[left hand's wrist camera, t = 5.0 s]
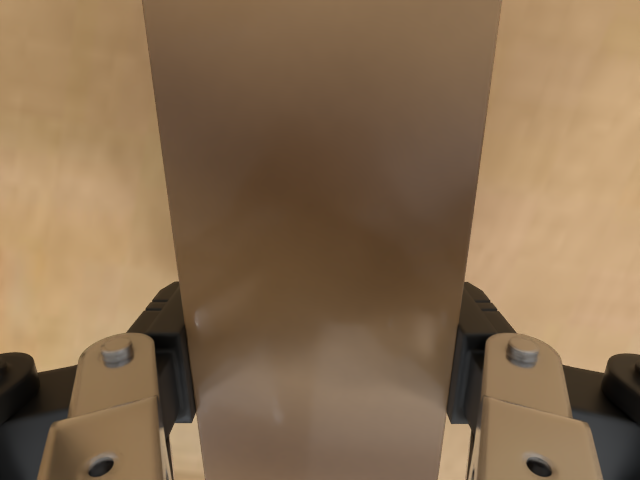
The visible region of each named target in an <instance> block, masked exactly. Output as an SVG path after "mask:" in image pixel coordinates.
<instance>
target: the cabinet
mask: <svg viewBox="0 0 640 480" xmlns="http://www.w3.org/2000/svg"><path fill="white" fill-rule="evenodd" d="M501 3H502V0H142V4H143V11H144V19H145V27H146V34H147V42H148V49H149V57H150V64H151V72H152V80H153V87H154V95H155V102H156V110H157V118H158V125H159V133H160V140H161V148H162V156H163V163H164V171H165V178H166V186H167V194H168V201H169V209H170V216H171V224H172V231H173V239H174V247H175V254H176V262H177V269H178V277H179V285H180V292H181V300H182V307H183V315H184V323H185V330H186V337H187V345H188V353H189V360H190V368H191V375H192V383H193V391H194V398H195V406H196V414H197V421H198V429H199V436H200V444H201V452H202V459H203V467H204V474H205V480H438V473H439V466H440V458H441V451H442V444H443V436H444V429H445V421H446V414H447V412H446V411H447V403H448V396H449V388H450V381H451V373H452V366H453V358H454V351H455V343H456V336H457V329H458V324H459V317H460V309H461V302H462V294H463V287H464V279H465V272H466V264H467V257H468V249H469V242H470V234H471V227H472V219H473V212H474V205H475V197H476V190H477V182H478V175H479V167H480V160H481V152H482V145H483V137H484V130H485V122H486V115H487V107H488V100H489V92H490V85H491V78H492V70H493V63H494V55H495V48H496V40H497V33H498V25H499V18H500V10H501Z"/></svg>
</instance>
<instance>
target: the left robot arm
mask: <svg viewBox="0 0 640 480" xmlns="http://www.w3.org/2000/svg"><path fill="white" fill-rule="evenodd" d="M446 412H447V415H448V417H449V420H450V422H451V424H469V426H470V428H471V436H470V442H469V449H468V459H467V468H466V477H465V480H640V355H638V354H617V355H614V356H612V357H611V358H609V360H608V363H607V366H606V370H605V373H600V372H595V371H590V370H585V369H579V368H574V367H570V366H565V365H562V361H561V358H560V356H559V354H558V353H557V352H556V351H555V350H554V349H553V348H552V347H550V346H549V345H547V344H546V343H544V342H542V341H540V340H538V339H536V338H533V337H530V336H527V335H523V334H517V333H516V332H515V331H514V329H513V328H512V327H511V326H510V324H509V323H508V322H507V321H506V319H505V318H504V317H503V316H502V315H501V313H500V312H499V311H497V308H496V307H495V306H494V305H493V303H490V300H489V299H488V297H487V296H486V295H485V294H484V292H483V291H482V290H480V289H478V288H477V287H475V286H473V285H472V284H470V283H468V282H464V287H463V294H462V302H461V309H460V317H459V324H458V329H457V336H456V343H455V351H454V358H453V366H452V373H451V381H450V388H449V396H448V403H447V411H446ZM195 413H196V406H195V398H194V391H193V383H192V375H191V368H190V360H189V353H188V345H187V337H186V330H185V323H184V315H183V307H182V300H181V292H180V285H179V282H173V283H172V284H170V285H168V286H167V287H165V288H163V289H162V290H160V291H159V293H158V294H157V295H156V296H155V298H154V299H153V300H152V302H151V303H150V304H149V305H148V306H147V308H146V311H143V313H142V314H141V315H140V316H139V317H138V319H137V320H136V321H135V322H134V324H133V325H132V326H131V327H130V329H129V330H128V331H127V332H126V333H123V334H117V335H113V336H110V337H107V338H104V339H102V340H100V341H98V342H96V343H94V344H93V345H91V346H90V347H88V348H87V349H86V350H85V351H84V352H83V353H82V354H81V356H80V358H79V361H78V365H75V366H70V367H65V368H60V369H55V370H50V371H44V372H39V373H37V370H36V366H35V363H34V360H33V358H32V357H31V356H30V355H28V354H25V353H18V352H13V353H3V354H0V480H175V477H174V468H173V459H172V450H171V442H170V436H169V434H170V432H171V430H172V427H173V425H174V423H192V421H193V418H194V416H195Z"/></svg>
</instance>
